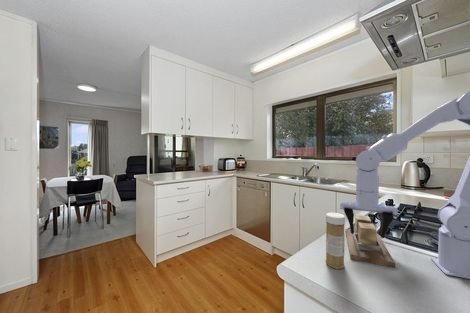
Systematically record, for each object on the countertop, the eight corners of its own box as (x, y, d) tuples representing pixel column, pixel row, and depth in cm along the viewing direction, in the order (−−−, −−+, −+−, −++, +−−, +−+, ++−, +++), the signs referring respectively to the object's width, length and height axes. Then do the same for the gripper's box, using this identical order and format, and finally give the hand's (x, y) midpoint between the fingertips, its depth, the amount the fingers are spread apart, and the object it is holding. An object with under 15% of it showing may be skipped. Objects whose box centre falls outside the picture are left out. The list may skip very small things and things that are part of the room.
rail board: (377, 236, 70) (378, 216, 69) (394, 267, 52) (395, 239, 51) (345, 232, 74) (345, 212, 74) (350, 258, 56) (350, 233, 56)
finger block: (372, 242, 63) (372, 223, 63) (376, 250, 58) (376, 229, 58) (357, 239, 65) (358, 221, 65) (360, 247, 60) (360, 227, 60)
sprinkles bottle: (330, 258, 56) (330, 210, 56) (347, 265, 53) (348, 214, 52) (322, 264, 53) (322, 214, 53) (340, 272, 50) (340, 218, 50)
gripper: (392, 190, 61) (392, 233, 62) (339, 186, 68) (339, 226, 68) (400, 194, 55) (399, 243, 55) (340, 190, 61) (340, 234, 62)
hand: (366, 234), depth 61 cm, fingers open, 7 cm apart
